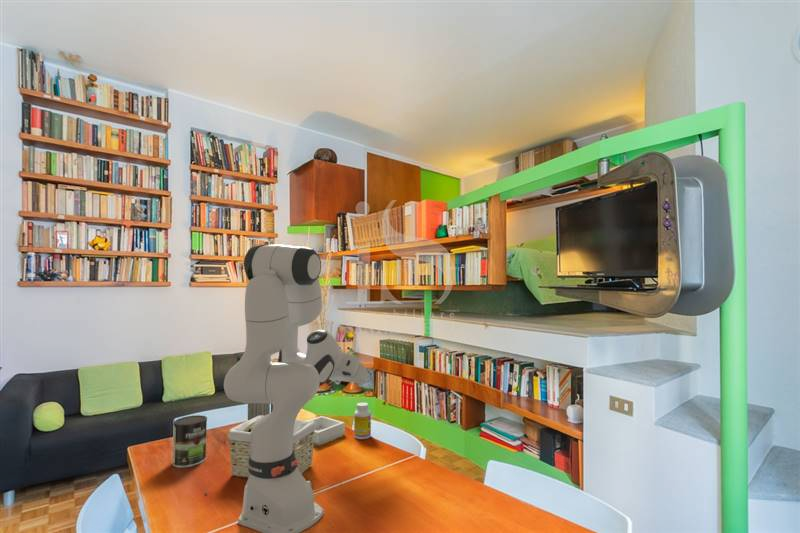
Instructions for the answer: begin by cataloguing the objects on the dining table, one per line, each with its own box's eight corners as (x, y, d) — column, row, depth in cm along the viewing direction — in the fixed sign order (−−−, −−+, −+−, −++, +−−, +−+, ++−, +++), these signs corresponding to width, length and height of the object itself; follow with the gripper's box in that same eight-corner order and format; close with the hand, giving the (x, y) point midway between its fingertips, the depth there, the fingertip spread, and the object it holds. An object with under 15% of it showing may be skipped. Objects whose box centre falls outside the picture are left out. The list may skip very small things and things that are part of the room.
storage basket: (224, 476, 124) (225, 429, 125) (258, 455, 140) (259, 413, 140) (289, 488, 117) (289, 437, 117) (317, 465, 132) (317, 420, 133)
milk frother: (261, 440, 153) (262, 402, 154) (227, 437, 157) (227, 399, 158) (281, 428, 167) (281, 392, 168) (248, 425, 171) (249, 390, 172)
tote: (344, 435, 158) (344, 422, 159) (317, 446, 147) (317, 432, 147) (321, 427, 167) (321, 415, 167) (294, 437, 156) (294, 425, 156)
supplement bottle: (369, 440, 153) (369, 406, 154) (353, 440, 153) (353, 406, 154) (371, 433, 160) (371, 401, 160) (355, 433, 160) (355, 401, 160)
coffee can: (211, 459, 136) (212, 418, 137) (180, 470, 128) (181, 427, 129) (197, 452, 143) (198, 413, 143) (167, 462, 134) (168, 420, 135)
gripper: (307, 367, 140) (322, 388, 149) (356, 374, 132) (370, 395, 141) (314, 353, 144) (329, 373, 153) (363, 358, 136) (376, 379, 145)
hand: (349, 384), depth 147 cm, fingers open, 8 cm apart
